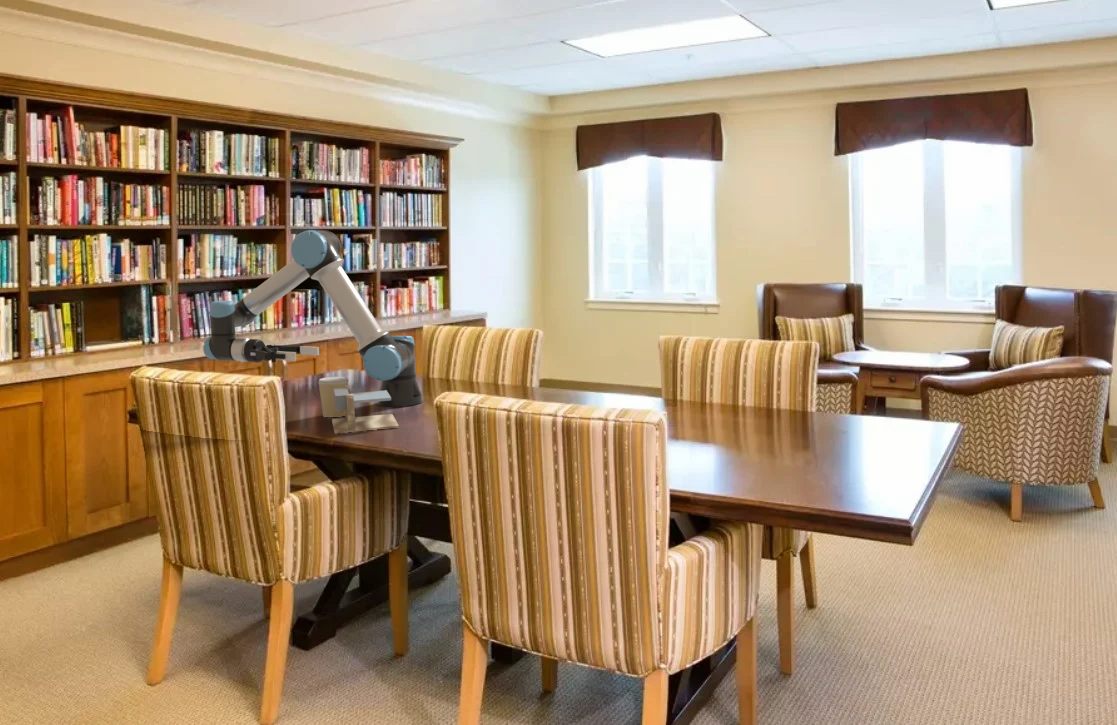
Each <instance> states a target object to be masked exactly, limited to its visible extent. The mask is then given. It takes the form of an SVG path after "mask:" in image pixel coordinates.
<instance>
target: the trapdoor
mask: <svg viewBox="0 0 1117 725" xmlns="http://www.w3.org/2000/svg"><path fill="white" fill-rule="evenodd" d="M346 394H353V395H354V404H362V403H363V404H364V403H374V402H375V403H376V402H377V403H378V401H390V400H391V397H390V395H389V393H388V392H387V390H384V391H379V390H373V391H372V390H371V391H362V392H361V391H360V392H350V393H349V392H348V389H347V388H335V389H334V403H335V407H336V411H341V410H347V401H346Z"/></svg>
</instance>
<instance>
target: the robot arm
mask: <svg viewBox="0 0 1117 725" xmlns="http://www.w3.org/2000/svg"><path fill="white" fill-rule="evenodd" d="M290 252H291V257H292V260H291V261H290V262H288V263H287V264H285V265H284V266H283V267H282V268H281V269H279V270H278V271H276V272H275V273H273V275H272V276H270V277H269V278H268V279H266V280H264V282H262V283H261V284H260V285H258V286H257V287H256V288H254V289H253V290H252V291H251V292H249V293H248V294H246V295H245V296H244V297H242V298H241V299H239V301H237V302H236V303H234V301H233V300H214V301H211V302H210V307H209V309H210V310H209V318H210V319H209V320H210V321H209V322H210V336H208V337H207V338H206V339H205V340H204V345H203V346H202V349H203V354H204V355H205V357H206V358H208V359H210V360H215V361H216V360H217V361H228V362H229V361H231V362H232V361H233V362H240V364H244V362H249V363H257V364H258V363H261V362H262V361H263V360H264V361H268V362H270V361H271V362H272V363H276V361H285V362H286V361H287V362H297V355H302V356H320V347H319V346H308V345H307V346H304V345H303V343H299V344H298V345H295V344H294V345H293V344H292V345H287V344H286V345H285V344H284V345H283V344H282V345H279V344H278V345H277V344H273V345H272V344H267V345H266V344H265V342H264V341H263V340H261V339H255V338H242V337H236V328H239V327H244V326H248V325H249V324H252V323H253V322H254V321H255V320H256V317H258V316H259V315H260V314H261V313H264V312H265V310H266V309H267V310H268V308H270V307H271V306H272V305H273V304H275V303H276V302H278V301H279V300H280V299H282V298H283V297H284V296H285V295H287V294H288V293H289V292H292V290H294V289H295V288H296V287H298V286H299V285H300V284H301V283H303V282H304V281H306V280H307V279H308V278H311V280H315V281H318V282H319V284H320V285H321V287H322V288H323V290H324V292H325V293H326V295H327V296H328V298H329V299H330V301H331V302H332V304H333V306H334V307H335V309H336V310H337V311H338V314H340V317H341V318H342V319H343V322H344V323H345V324H346V325H347V326H346V327H348V329H349V331H350V332H351V333H352V335H353V337H354V339H355V340H356V342H357V343H358V347H357V352H358V353H359V355H360V356H361V358H362V359H363V360H362V364H363V368H364V371H365V373H366V374H367V375H368V376H369V377H370V378H372V379H374V380H375V381H381V383H380V387H379V390H378V391H384V390H387V392H388V393H389V395H390V397H391V400H390V401H377V405H378V406H380V407H385V408H387V407H388V408H389V407H390V408H392V407H393V408H396V407H397V408H398V407H399V408H401V407H408V406H414V405H419V404H422V403H423V402H424V401H423V400H424V399H423V394H422V391H421V388H420V386H419V383H418V381H417V371H416V370H417V367H416V351H415V350H416V348H415V347H416V345H415V344H416V343H415V339H414V337H413V336H410V335H391V333H390V332H389V331H387V330H383V329H382V327H381V326H380V324H379V323H378V321H377V320H376V319H375V316H374V315H373V314H372V312H371V310H370V309H369V307H368V305H367V304H366V303H365V300H363V298H362V296H361V295H360V293H359V291H358V290H357V288H356V287H355V286H354V284H353V282H352V281H351V279H350V278H349V276H348V275H347V273H346V271H345V270H344V268H343V261H344V258H342V257H341V254H342V244H341V240H340V238H339V237H338V236H337V235H336V234H335V233H333V232H331V231H329V230H324V229H323V230H322V229H320V230H316V229H308V230H305V231H302V232H300V233H298V234H297V235H296V236H295V237H294V239H293V241H292V243H291V246H290Z"/></svg>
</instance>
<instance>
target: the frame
mask: <svg viewBox="0 0 1117 725" xmlns="http://www.w3.org/2000/svg"><path fill="white" fill-rule="evenodd" d="M343 388H347V389H348V392H349V393H351V385H350V384H348V385H345V386H343ZM346 401H347V410H345V417H339V418H331V422H332V428H333V431H334V432H333V433H334V435H338V433H340V434H348V432H352V433H357V432H356V431H363V432H368V431H367V430H374V431H378V430H377V429H385V430H390V429H389V428H397V429H400V426H399V424H398V422H397V420H396V418H395V416H394V415H393V413H389V414H388V413H387V414H378V415H377V414H375V415H374V414H373V415H367V416H366V415H363V416H356V415H355V414H356V413H355V412H356V411H355V403H354V395H353V394H346Z"/></svg>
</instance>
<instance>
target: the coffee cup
mask: <svg viewBox="0 0 1117 725" xmlns="http://www.w3.org/2000/svg"><path fill="white" fill-rule="evenodd" d="M345 385H349V379H348V377H347V376H327V377H322V378H319V380H318V387H319V389H318V390H319V395H320V401H321V402H320V404H321V409H322V410H321V411H322V416H323V418H325V417H339V418H342V417H341V416H345V410H341V411H336V407H335V403H334V389H335V388H343V386H345Z"/></svg>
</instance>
